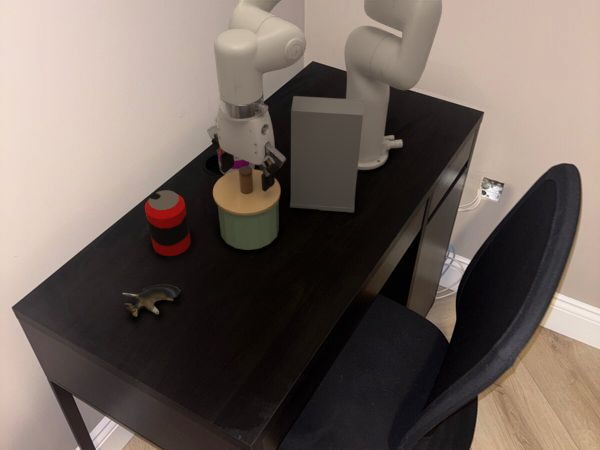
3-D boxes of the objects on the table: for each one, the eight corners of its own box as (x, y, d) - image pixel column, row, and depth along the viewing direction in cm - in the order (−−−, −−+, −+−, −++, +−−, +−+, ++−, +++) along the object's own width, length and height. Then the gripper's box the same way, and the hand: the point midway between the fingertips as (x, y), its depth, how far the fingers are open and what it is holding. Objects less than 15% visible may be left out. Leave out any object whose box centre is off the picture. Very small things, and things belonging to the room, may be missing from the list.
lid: (274, 170, 125) (274, 145, 120) (286, 213, 115) (285, 188, 111) (210, 177, 123) (207, 153, 118) (216, 222, 113) (214, 196, 109)
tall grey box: (354, 194, 134) (364, 97, 117) (353, 213, 130) (363, 115, 113) (292, 190, 135) (293, 93, 118) (289, 209, 131) (290, 111, 113)
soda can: (168, 226, 126) (159, 182, 118) (198, 238, 124) (191, 194, 116) (145, 249, 122) (135, 205, 113) (176, 262, 119) (167, 218, 111)
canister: (273, 208, 131) (272, 170, 124) (283, 247, 123) (282, 209, 115) (218, 215, 129) (213, 177, 122) (224, 255, 121) (219, 216, 113)
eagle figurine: (148, 333, 105) (188, 301, 109) (124, 303, 103) (166, 270, 106) (136, 323, 112) (175, 293, 115) (114, 294, 109) (154, 264, 113)
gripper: (295, 107, 103) (296, 183, 115) (216, 77, 110) (225, 152, 122) (269, 129, 99) (273, 205, 111) (189, 96, 106) (200, 172, 118)
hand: (248, 177), depth 116 cm, fingers open, 9 cm apart
